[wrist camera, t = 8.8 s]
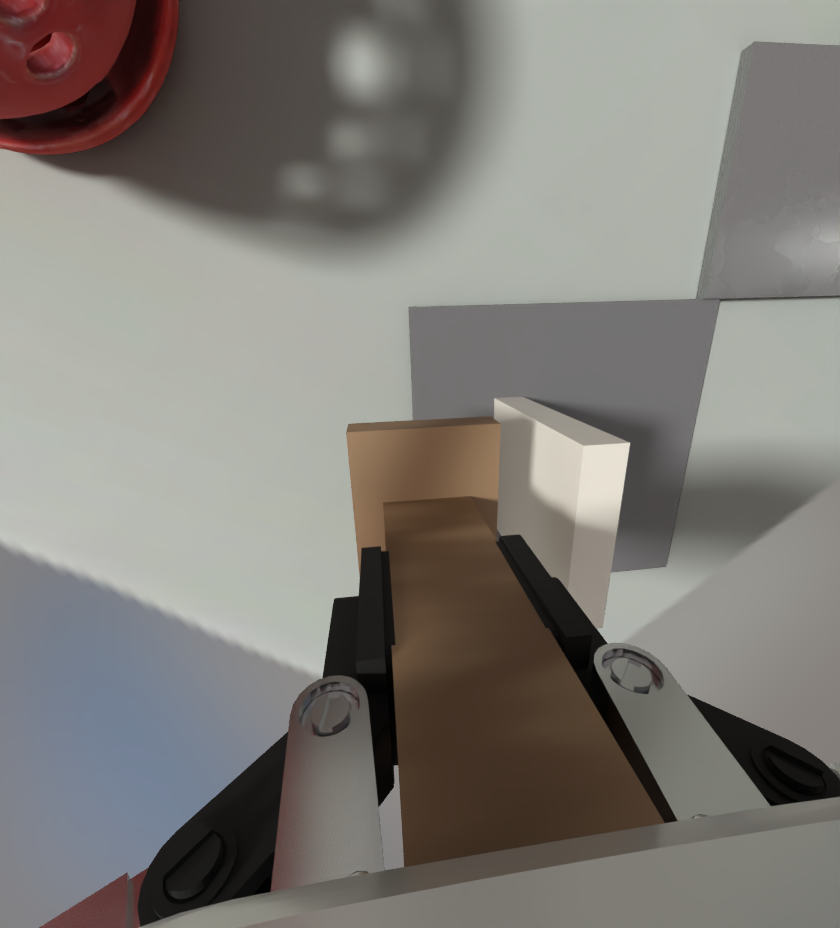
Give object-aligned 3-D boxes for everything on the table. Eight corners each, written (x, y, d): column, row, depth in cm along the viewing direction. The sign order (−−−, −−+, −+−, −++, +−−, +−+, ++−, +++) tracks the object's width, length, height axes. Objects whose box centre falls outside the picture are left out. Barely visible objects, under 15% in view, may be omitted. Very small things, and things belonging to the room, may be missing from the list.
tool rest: (975, 61, 18) (994, 52, 18) (896, 294, 21) (910, 293, 21) (741, 51, 17) (754, 41, 16) (696, 299, 20) (705, 298, 20)
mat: (713, 299, 20) (720, 298, 20) (661, 563, 26) (665, 566, 25) (408, 307, 19) (409, 306, 18) (419, 587, 24) (420, 592, 23)
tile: (525, 396, 20) (634, 442, 12) (518, 516, 23) (606, 627, 14) (494, 398, 20) (583, 446, 12) (490, 519, 22) (563, 632, 14)
